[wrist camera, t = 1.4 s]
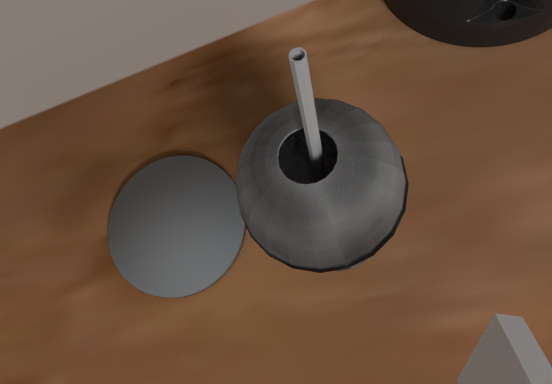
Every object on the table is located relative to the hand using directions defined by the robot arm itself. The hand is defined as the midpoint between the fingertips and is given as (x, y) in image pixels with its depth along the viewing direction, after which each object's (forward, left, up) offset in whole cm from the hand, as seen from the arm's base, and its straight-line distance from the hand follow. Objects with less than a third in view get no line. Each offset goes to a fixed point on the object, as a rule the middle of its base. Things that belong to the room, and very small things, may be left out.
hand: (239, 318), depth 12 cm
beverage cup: (-5, -3, -19) cm, 20 cm away
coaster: (+2, -12, -19) cm, 22 cm away
